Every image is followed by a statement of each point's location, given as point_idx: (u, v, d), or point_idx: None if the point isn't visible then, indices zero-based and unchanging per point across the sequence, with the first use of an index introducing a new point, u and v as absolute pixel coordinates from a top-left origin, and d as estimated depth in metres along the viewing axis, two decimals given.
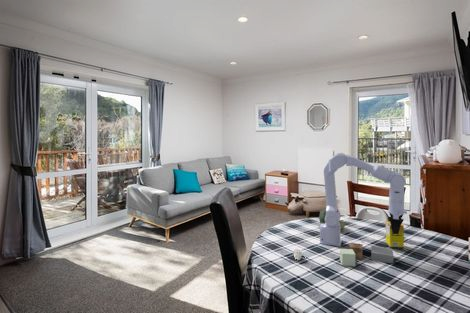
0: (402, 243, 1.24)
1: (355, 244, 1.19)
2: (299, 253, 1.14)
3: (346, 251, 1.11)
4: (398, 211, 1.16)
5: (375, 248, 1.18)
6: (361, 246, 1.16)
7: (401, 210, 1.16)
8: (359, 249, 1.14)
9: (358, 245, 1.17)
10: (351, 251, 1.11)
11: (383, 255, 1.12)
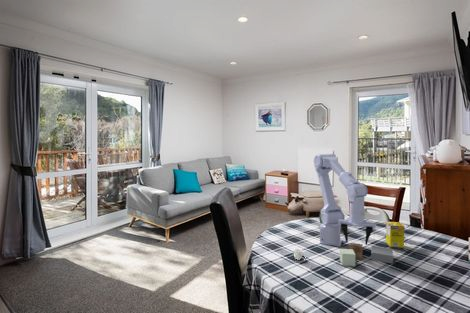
0: (402, 243, 1.24)
1: (355, 244, 1.19)
2: (299, 253, 1.14)
3: (346, 251, 1.11)
4: (349, 220, 1.17)
5: (375, 248, 1.18)
6: (361, 246, 1.16)
7: (351, 220, 1.15)
8: (359, 249, 1.14)
9: (358, 245, 1.17)
10: (351, 251, 1.11)
11: (383, 255, 1.12)
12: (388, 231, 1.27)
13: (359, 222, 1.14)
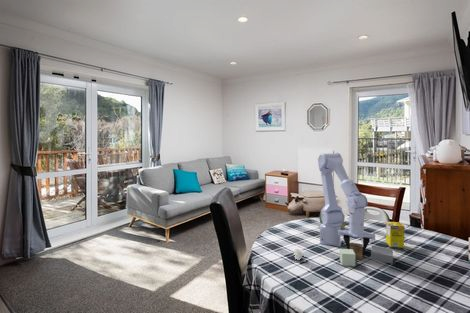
0: (402, 243, 1.24)
1: (355, 243, 1.19)
2: (299, 253, 1.14)
3: (346, 251, 1.11)
4: (349, 231, 1.17)
5: (375, 248, 1.18)
6: (361, 246, 1.16)
7: (351, 231, 1.16)
8: (359, 249, 1.14)
9: (358, 245, 1.17)
10: (351, 251, 1.11)
11: (382, 255, 1.12)
12: (388, 231, 1.27)
13: (359, 233, 1.14)
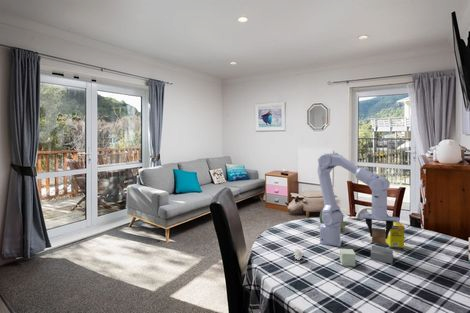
0: (402, 243, 1.24)
1: (377, 229, 1.16)
2: (299, 253, 1.14)
3: (346, 251, 1.11)
4: (371, 214, 1.15)
5: (375, 248, 1.18)
6: (384, 231, 1.14)
7: (373, 214, 1.14)
8: (382, 234, 1.12)
9: (381, 230, 1.15)
10: (351, 251, 1.11)
11: (382, 255, 1.12)
12: None
13: (382, 216, 1.12)
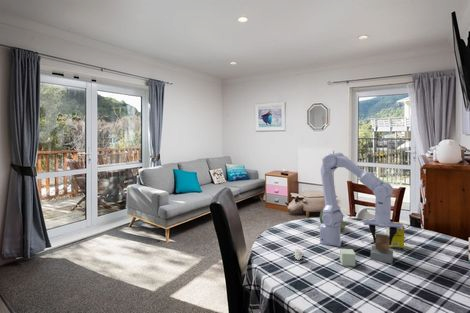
0: (402, 243, 1.24)
1: (381, 235, 1.16)
2: (300, 253, 1.14)
3: (346, 251, 1.11)
4: (375, 221, 1.15)
5: (375, 247, 1.18)
6: (388, 237, 1.14)
7: (377, 221, 1.14)
8: (386, 240, 1.12)
9: (384, 236, 1.15)
10: (351, 251, 1.11)
11: (382, 255, 1.12)
12: (388, 231, 1.27)
13: (386, 222, 1.12)
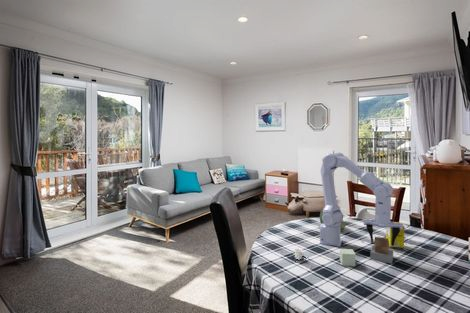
0: (402, 243, 1.24)
1: (380, 238, 1.16)
2: (300, 253, 1.14)
3: (346, 251, 1.11)
4: (375, 221, 1.15)
5: None
6: (387, 240, 1.14)
7: (377, 221, 1.14)
8: (385, 243, 1.12)
9: (384, 239, 1.15)
10: (351, 251, 1.11)
11: (382, 255, 1.12)
12: (388, 231, 1.27)
13: (386, 222, 1.12)
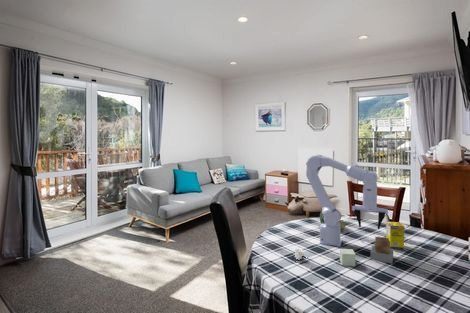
0: (402, 243, 1.24)
1: (381, 238, 1.17)
2: (300, 253, 1.14)
3: (346, 251, 1.11)
4: (362, 206, 1.23)
5: None
6: (388, 240, 1.14)
7: (364, 206, 1.22)
8: (386, 243, 1.12)
9: (384, 239, 1.15)
10: (351, 251, 1.11)
11: (382, 255, 1.12)
12: (388, 231, 1.27)
13: (372, 208, 1.20)
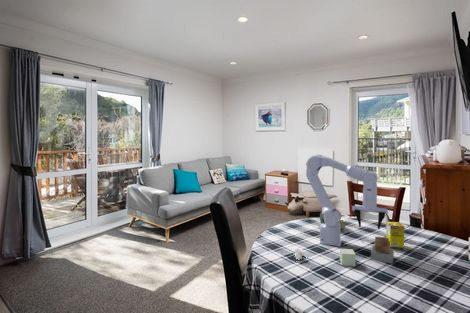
0: (402, 243, 1.24)
1: (381, 238, 1.17)
2: (300, 253, 1.14)
3: (346, 251, 1.11)
4: (362, 206, 1.23)
5: None
6: (388, 240, 1.14)
7: (364, 206, 1.22)
8: (386, 243, 1.12)
9: (384, 239, 1.15)
10: (351, 251, 1.11)
11: (382, 255, 1.12)
12: (388, 231, 1.27)
13: (372, 208, 1.20)
